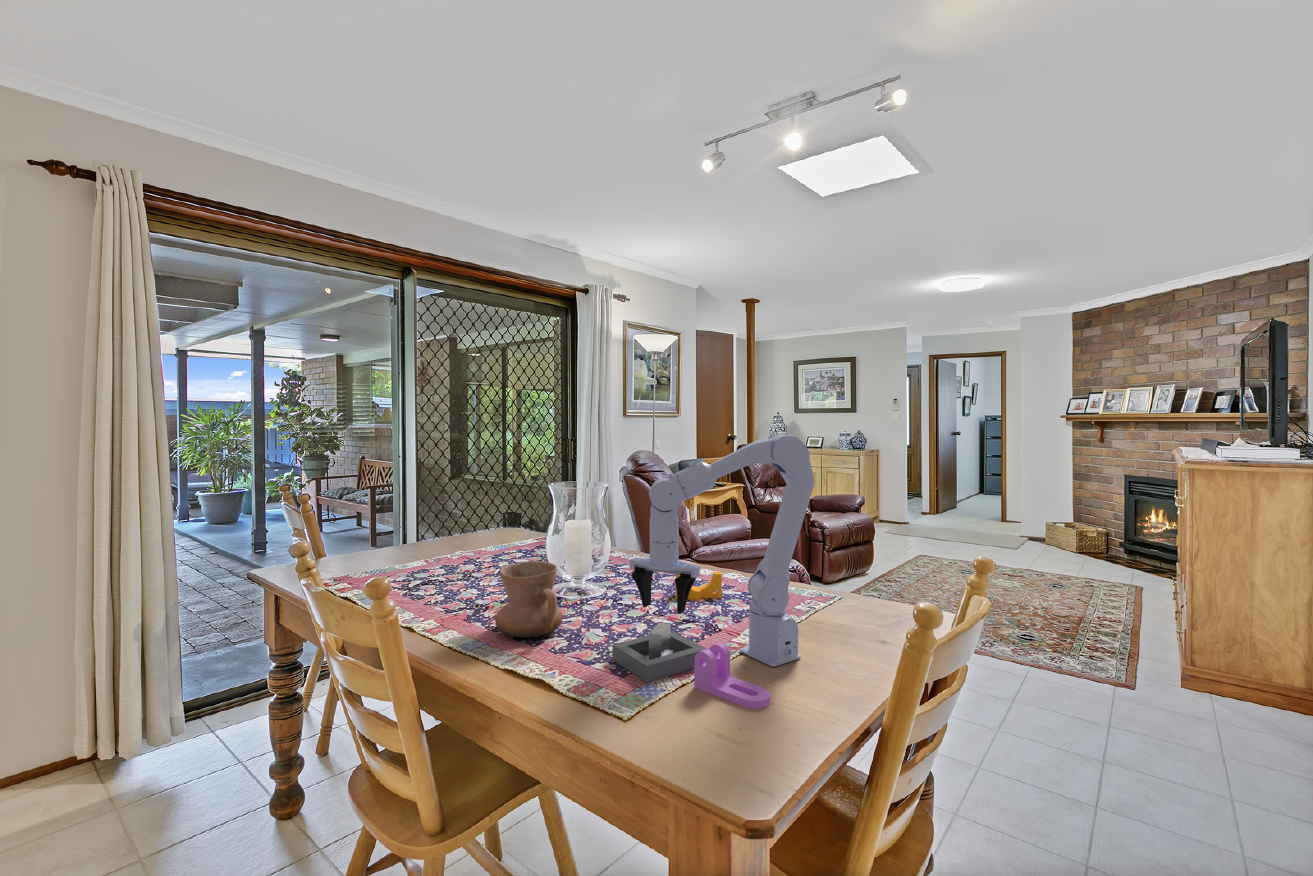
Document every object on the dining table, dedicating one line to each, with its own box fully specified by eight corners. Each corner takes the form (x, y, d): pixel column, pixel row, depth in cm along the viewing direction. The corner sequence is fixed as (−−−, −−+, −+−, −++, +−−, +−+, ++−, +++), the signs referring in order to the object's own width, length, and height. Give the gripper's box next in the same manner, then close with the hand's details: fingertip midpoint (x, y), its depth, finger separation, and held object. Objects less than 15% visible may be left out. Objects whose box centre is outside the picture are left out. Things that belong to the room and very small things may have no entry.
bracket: (694, 688, 104) (694, 649, 104) (712, 677, 108) (713, 640, 108) (758, 713, 95) (759, 670, 95) (776, 700, 100) (776, 659, 99)
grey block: (674, 654, 117) (674, 624, 117) (664, 666, 111) (664, 635, 111) (655, 652, 118) (655, 622, 118) (644, 663, 112) (644, 632, 112)
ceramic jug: (481, 628, 132) (480, 565, 131) (538, 613, 142) (538, 554, 141) (521, 654, 119) (521, 584, 118) (581, 636, 128) (581, 571, 127)
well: (707, 664, 114) (707, 648, 113) (647, 682, 106) (647, 666, 105) (670, 644, 123) (670, 630, 123) (612, 659, 115) (612, 644, 115)
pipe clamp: (675, 600, 153) (676, 575, 153) (675, 595, 158) (675, 571, 158) (722, 600, 154) (722, 576, 153) (720, 595, 158) (720, 571, 158)
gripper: (706, 540, 117) (705, 608, 118) (641, 533, 124) (641, 597, 124) (691, 547, 111) (691, 619, 111) (624, 539, 117) (624, 607, 118)
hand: (663, 608), depth 117 cm, fingers open, 7 cm apart
